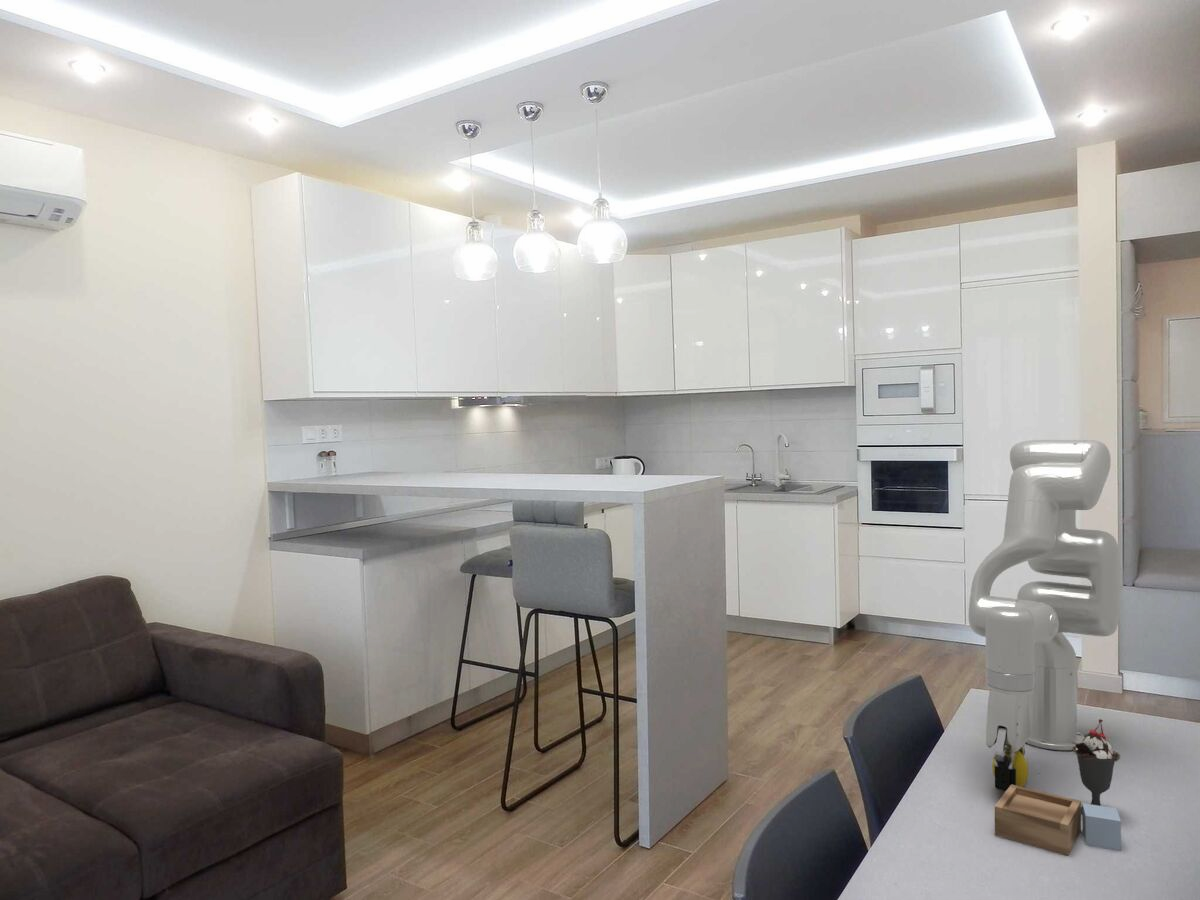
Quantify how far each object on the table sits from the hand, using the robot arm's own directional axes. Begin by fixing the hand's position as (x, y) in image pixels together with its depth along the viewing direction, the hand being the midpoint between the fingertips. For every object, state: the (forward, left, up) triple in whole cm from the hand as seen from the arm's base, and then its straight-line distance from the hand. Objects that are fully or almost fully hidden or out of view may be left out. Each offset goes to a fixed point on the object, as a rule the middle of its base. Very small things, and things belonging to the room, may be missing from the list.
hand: (1010, 783), depth 142 cm
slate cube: (+10, +15, -2) cm, 18 cm away
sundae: (0, +13, -2) cm, 13 cm away
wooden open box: (+13, +7, -1) cm, 15 cm away
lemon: (0, 0, -2) cm, 2 cm away
